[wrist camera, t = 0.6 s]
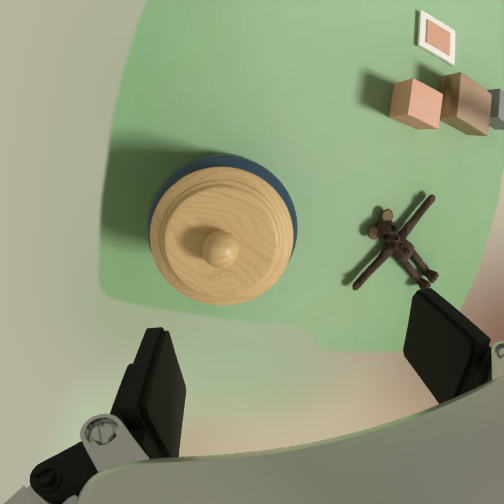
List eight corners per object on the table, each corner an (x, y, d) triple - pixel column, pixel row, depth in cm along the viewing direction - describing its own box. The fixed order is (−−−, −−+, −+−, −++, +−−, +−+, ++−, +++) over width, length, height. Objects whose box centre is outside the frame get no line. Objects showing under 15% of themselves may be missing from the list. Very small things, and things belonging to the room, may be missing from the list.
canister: (150, 198, 36) (91, 240, 19) (234, 132, 34) (239, 115, 17) (215, 276, 40) (208, 363, 23) (297, 217, 38) (348, 270, 21)
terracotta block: (393, 84, 33) (413, 78, 28) (422, 97, 34) (442, 94, 29) (388, 116, 34) (407, 114, 30) (417, 129, 35) (438, 128, 30)
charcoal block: (479, 90, 33) (500, 88, 28) (497, 103, 34) (516, 103, 29) (477, 117, 35) (498, 117, 30) (494, 129, 35) (515, 130, 31)
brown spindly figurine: (394, 328, 42) (340, 280, 37) (381, 314, 46) (328, 265, 41) (468, 242, 38) (430, 175, 33) (451, 233, 42) (411, 170, 37)
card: (418, 11, 29) (421, 9, 28) (453, 31, 30) (455, 30, 29) (416, 45, 31) (419, 44, 30) (451, 66, 32) (454, 65, 31)
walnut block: (440, 76, 33) (460, 72, 28) (471, 95, 33) (491, 94, 29) (435, 117, 35) (456, 116, 30) (466, 134, 36) (487, 136, 31)
